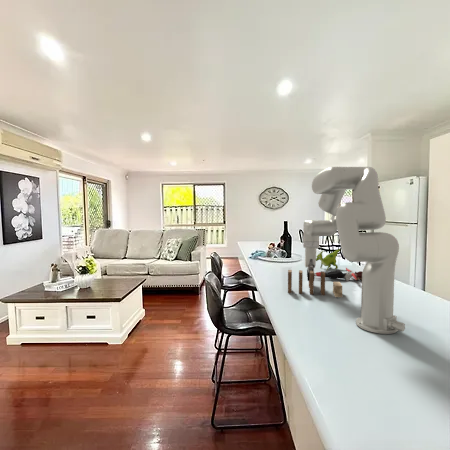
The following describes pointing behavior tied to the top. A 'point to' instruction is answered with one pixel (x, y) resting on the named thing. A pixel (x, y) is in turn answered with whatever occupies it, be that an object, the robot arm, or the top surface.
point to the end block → (337, 289)
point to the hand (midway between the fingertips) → (310, 278)
